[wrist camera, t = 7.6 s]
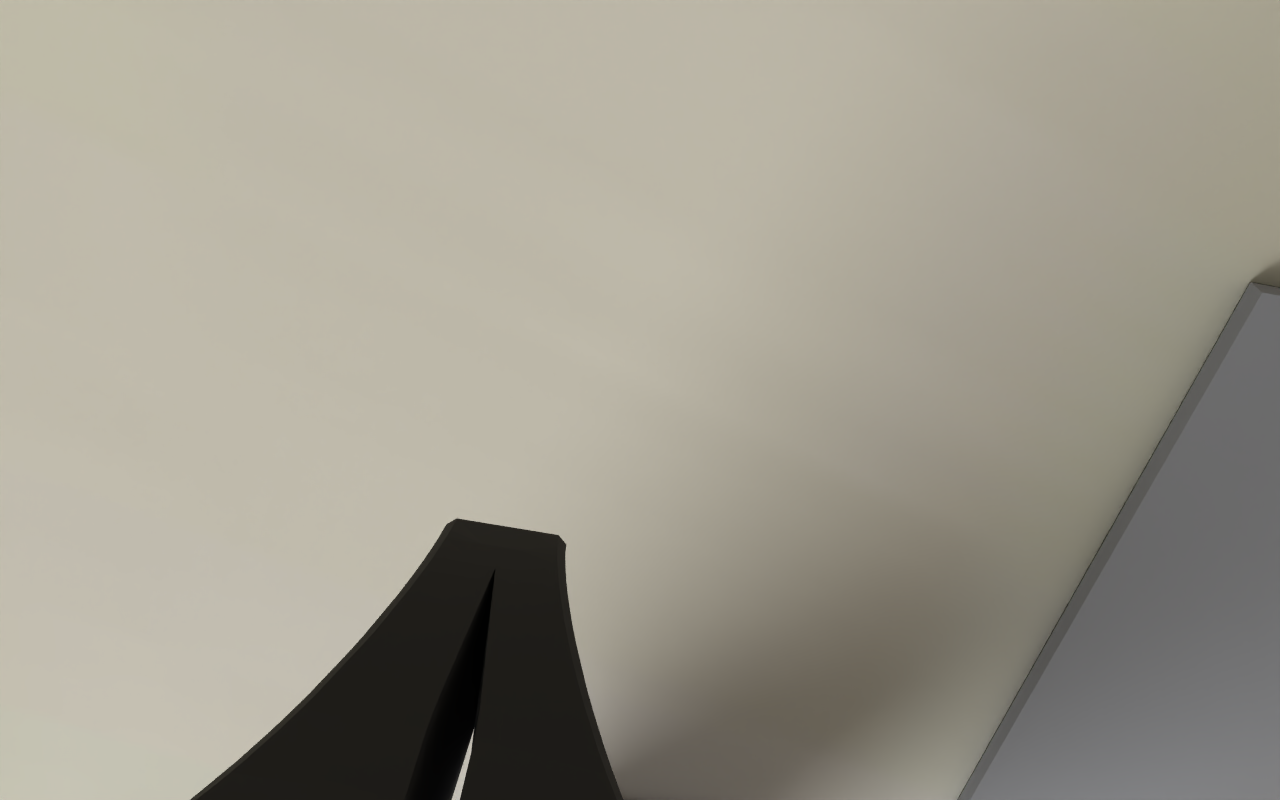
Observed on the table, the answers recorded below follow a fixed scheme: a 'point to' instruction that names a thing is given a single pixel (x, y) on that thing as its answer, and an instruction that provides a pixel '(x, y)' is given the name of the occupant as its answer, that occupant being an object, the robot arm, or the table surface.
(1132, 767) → the mat
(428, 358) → the table surface
